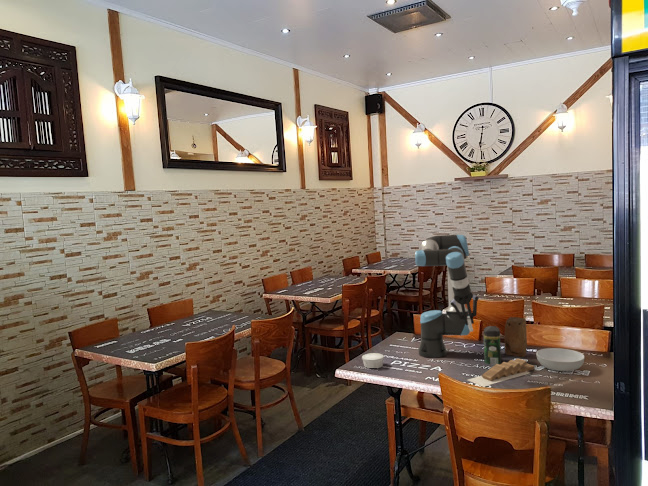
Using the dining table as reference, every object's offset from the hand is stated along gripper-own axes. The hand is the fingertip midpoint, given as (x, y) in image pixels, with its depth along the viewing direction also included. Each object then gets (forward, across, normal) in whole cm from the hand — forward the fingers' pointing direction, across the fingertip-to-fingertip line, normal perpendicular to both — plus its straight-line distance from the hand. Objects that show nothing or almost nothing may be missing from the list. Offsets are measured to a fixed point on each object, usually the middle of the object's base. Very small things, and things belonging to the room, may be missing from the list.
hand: (471, 329), depth 224 cm
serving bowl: (+33, +37, +3) cm, 50 cm away
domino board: (+23, +7, -8) cm, 25 cm away
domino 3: (+22, +8, -7) cm, 24 cm away
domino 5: (+25, +15, -3) cm, 29 cm away
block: (+35, +21, +23) cm, 47 cm away
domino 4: (+23, +12, -5) cm, 26 cm away
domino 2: (+20, +4, -10) cm, 23 cm away
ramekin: (+16, -51, +12) cm, 55 cm away
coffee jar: (+29, +8, +12) cm, 32 cm away
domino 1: (+19, +1, -12) cm, 22 cm away
